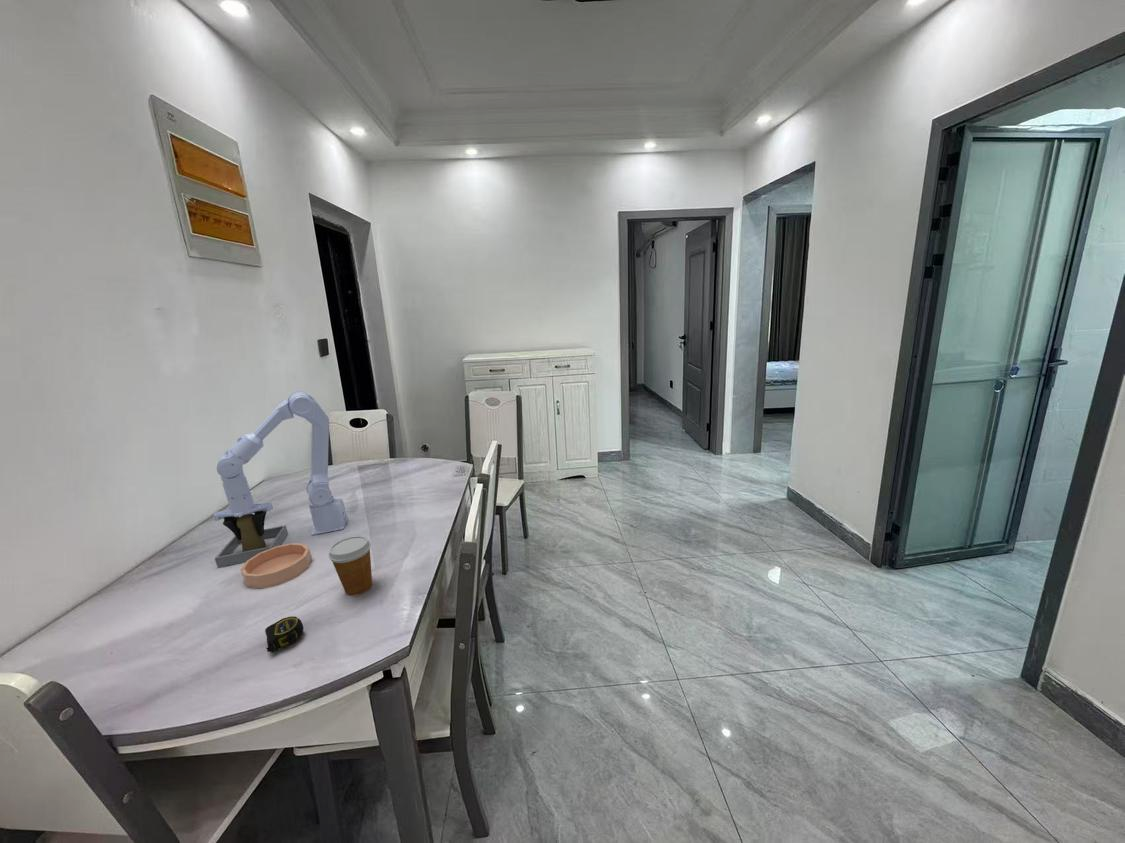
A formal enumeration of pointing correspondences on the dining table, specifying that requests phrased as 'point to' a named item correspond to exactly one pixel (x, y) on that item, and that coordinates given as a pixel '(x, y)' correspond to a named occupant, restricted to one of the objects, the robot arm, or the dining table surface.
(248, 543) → the cork
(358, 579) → the disposable coffee cup
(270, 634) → the tape measure
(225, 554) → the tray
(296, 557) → the bowl
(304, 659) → the dining table surface
